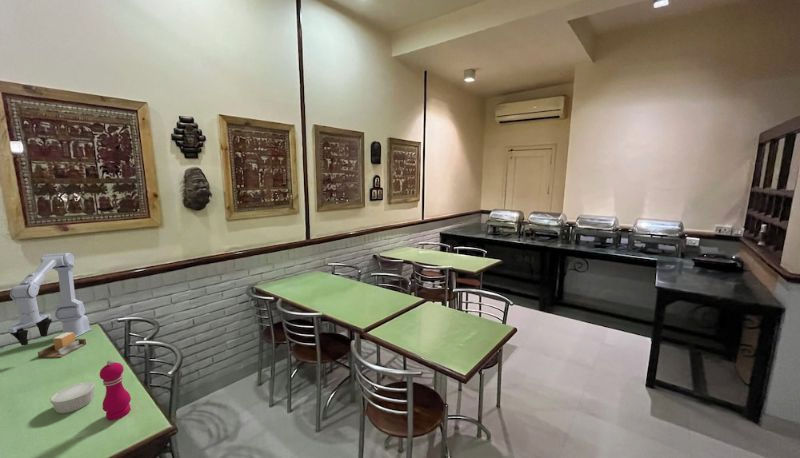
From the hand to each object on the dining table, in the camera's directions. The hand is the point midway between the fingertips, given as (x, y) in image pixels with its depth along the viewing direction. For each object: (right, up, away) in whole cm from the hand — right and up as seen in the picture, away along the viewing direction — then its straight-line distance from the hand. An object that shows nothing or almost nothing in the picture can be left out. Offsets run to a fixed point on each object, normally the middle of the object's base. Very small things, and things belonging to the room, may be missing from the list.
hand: (34, 340), depth 141 cm
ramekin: (+46, -14, -27) cm, 55 cm away
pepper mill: (+65, -14, -32) cm, 74 cm away
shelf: (+3, -8, +10) cm, 13 cm away
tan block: (+2, -7, +12) cm, 14 cm away
